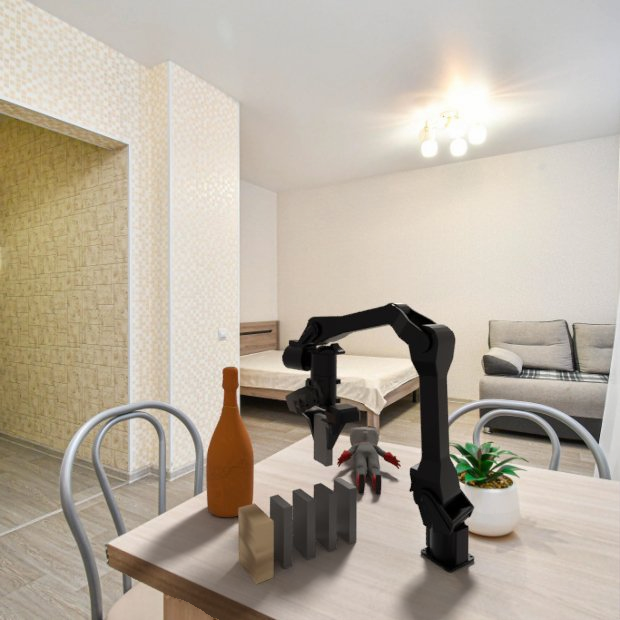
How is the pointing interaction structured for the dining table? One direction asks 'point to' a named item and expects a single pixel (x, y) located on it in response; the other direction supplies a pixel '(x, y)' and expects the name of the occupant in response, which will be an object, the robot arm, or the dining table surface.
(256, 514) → the end block
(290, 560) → the tile
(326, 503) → the tile
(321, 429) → the tile
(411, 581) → the dining table surface
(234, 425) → the wine bottle
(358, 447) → the toy
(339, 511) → the tile
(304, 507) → the tile
